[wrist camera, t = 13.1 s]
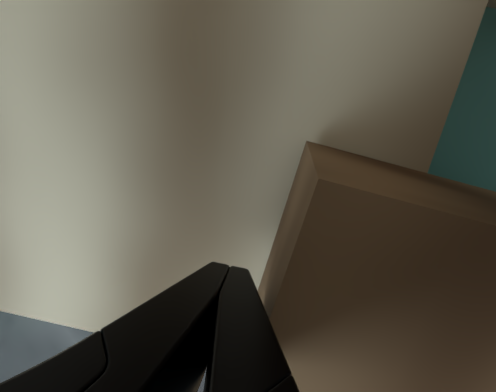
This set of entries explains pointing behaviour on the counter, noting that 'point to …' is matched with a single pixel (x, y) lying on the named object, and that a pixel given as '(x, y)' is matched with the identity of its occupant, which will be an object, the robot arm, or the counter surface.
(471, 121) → the mat
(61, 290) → the deck
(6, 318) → the counter surface
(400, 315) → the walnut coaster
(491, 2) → the blush pink tile
